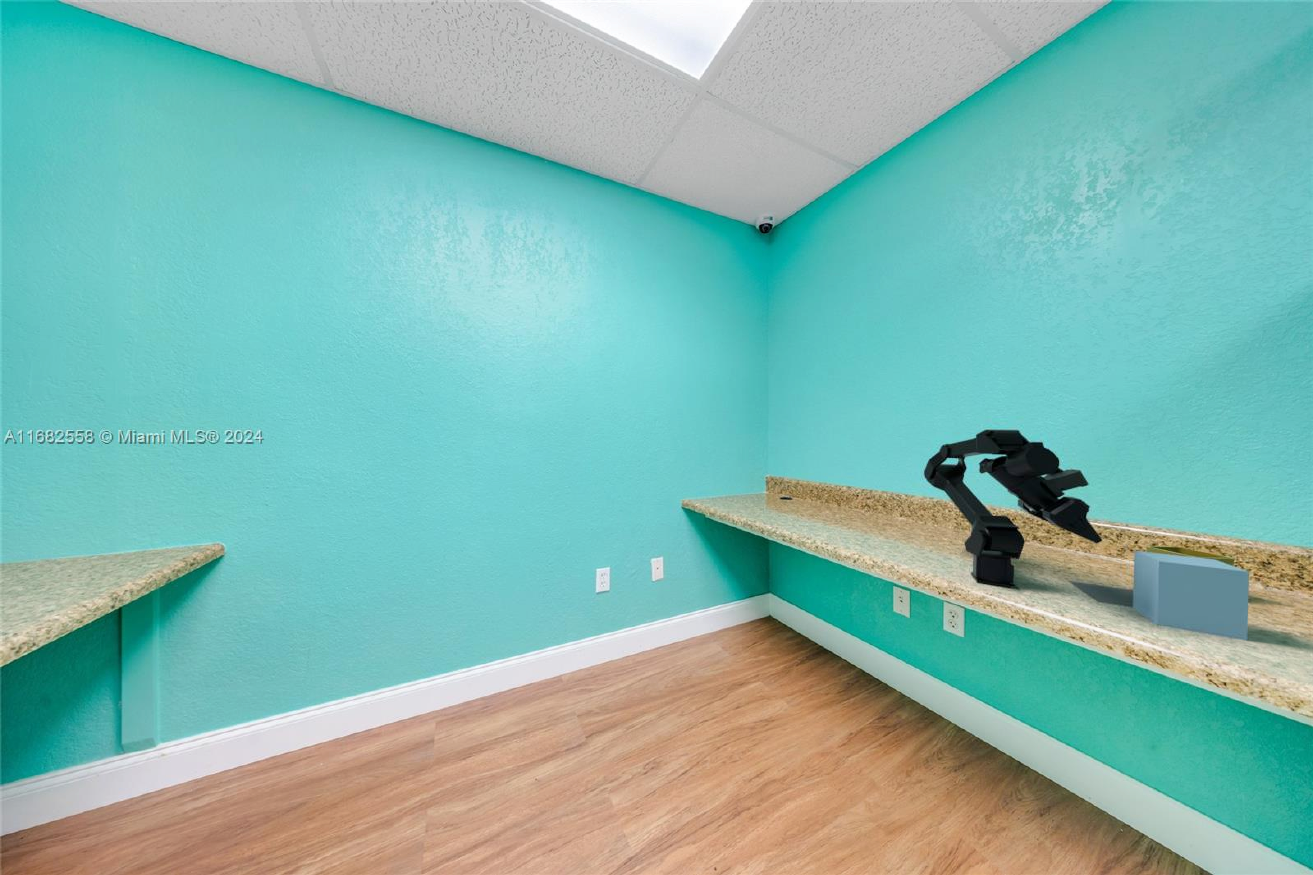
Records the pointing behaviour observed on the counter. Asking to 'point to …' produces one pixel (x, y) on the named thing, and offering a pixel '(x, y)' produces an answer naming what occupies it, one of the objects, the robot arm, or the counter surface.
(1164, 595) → the light blue rectangular block
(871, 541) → the counter surface
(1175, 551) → the flower pot
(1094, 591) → the mat
